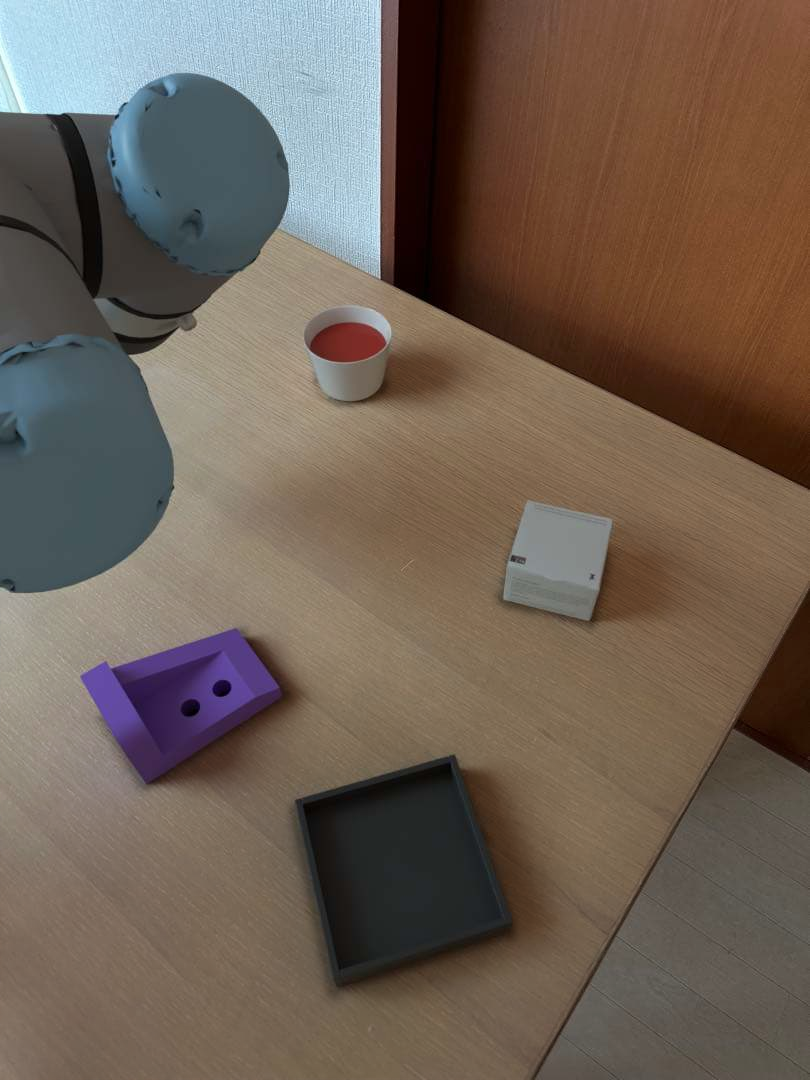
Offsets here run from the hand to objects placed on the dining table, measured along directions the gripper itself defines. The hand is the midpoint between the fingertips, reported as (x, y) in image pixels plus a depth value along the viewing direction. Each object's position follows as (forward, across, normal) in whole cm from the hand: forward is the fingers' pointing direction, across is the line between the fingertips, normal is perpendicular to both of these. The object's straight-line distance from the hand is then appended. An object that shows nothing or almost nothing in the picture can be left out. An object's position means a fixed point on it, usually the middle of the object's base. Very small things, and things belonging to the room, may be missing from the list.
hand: (65, 366), depth 67 cm
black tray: (-19, -7, -42) cm, 47 cm away
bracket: (-5, -9, -28) cm, 29 cm away
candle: (+8, +26, -15) cm, 31 cm away
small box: (-14, +21, -37) cm, 45 cm away
